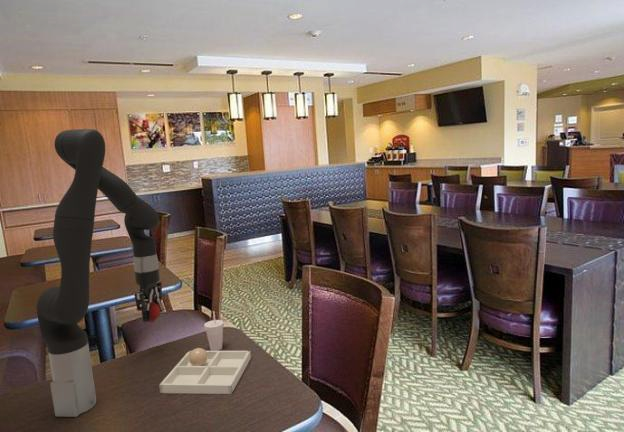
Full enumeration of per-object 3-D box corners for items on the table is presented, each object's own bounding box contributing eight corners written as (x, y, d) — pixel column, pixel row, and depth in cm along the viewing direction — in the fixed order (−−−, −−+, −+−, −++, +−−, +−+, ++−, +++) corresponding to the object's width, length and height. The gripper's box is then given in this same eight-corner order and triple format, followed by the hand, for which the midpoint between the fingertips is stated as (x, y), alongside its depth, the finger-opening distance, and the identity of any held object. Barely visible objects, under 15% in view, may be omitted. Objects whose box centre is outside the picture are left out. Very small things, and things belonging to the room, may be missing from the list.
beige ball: (204, 370, 129) (202, 353, 128) (186, 370, 130) (185, 353, 129) (211, 361, 135) (209, 344, 134) (194, 361, 135) (192, 344, 135)
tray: (231, 396, 116) (230, 385, 115) (160, 395, 118) (159, 384, 118) (251, 360, 136) (250, 350, 135) (189, 360, 138) (188, 350, 138)
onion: (155, 326, 139) (152, 302, 138) (139, 325, 141) (136, 302, 140) (164, 319, 145) (162, 296, 144) (149, 319, 146) (147, 296, 145)
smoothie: (215, 356, 139) (211, 316, 137) (202, 352, 143) (198, 312, 141) (230, 349, 144) (226, 309, 142) (217, 344, 148) (213, 306, 146)
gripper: (146, 263, 148) (151, 310, 150) (123, 274, 134) (129, 325, 136) (167, 262, 147) (171, 309, 149) (146, 274, 133) (151, 325, 135)
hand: (151, 317), depth 143 cm, fingers closed on onion, 6 cm apart
